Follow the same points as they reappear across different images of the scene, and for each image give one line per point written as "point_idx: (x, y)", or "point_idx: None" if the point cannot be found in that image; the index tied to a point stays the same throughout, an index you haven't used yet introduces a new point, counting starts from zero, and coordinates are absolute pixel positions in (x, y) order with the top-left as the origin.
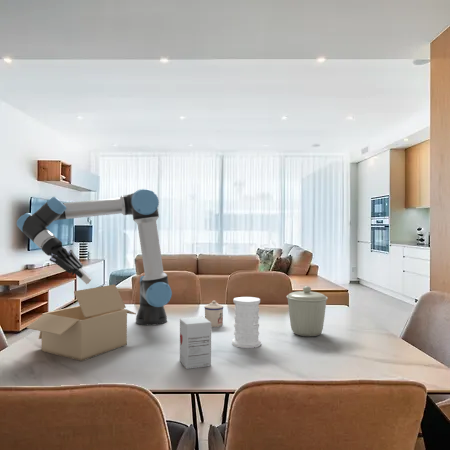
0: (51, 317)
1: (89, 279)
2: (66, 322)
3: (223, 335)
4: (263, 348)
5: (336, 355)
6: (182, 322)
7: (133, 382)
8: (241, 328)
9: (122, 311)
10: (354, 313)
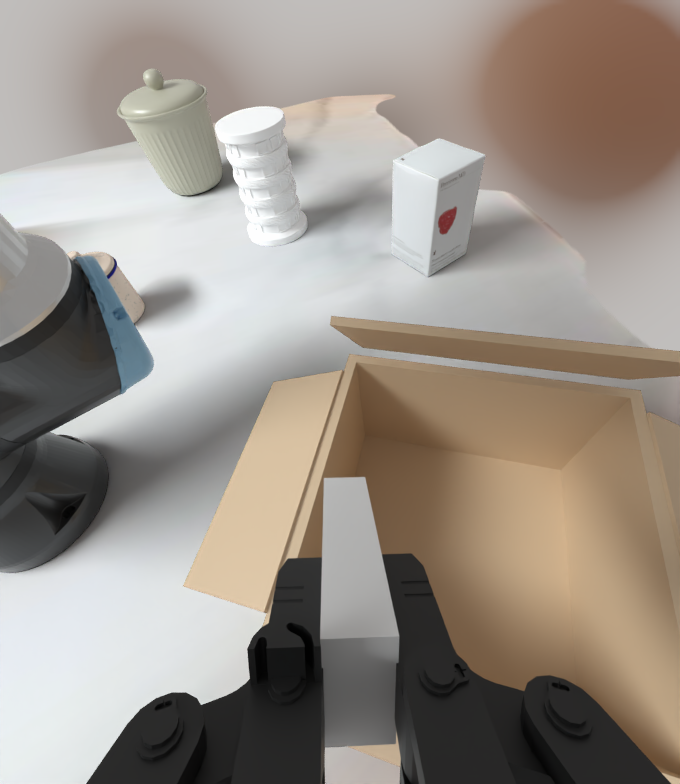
0: None
1: (365, 485)
2: None
3: (222, 272)
4: (302, 206)
5: (312, 148)
6: (459, 173)
7: (586, 292)
8: (294, 190)
9: (378, 359)
10: (51, 164)
